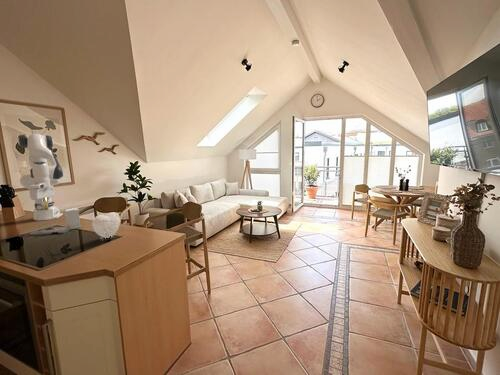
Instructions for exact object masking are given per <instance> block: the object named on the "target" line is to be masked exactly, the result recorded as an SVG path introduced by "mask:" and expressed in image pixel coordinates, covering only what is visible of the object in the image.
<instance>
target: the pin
mask: <svg viewBox="0 0 500 375" xmlns="http://www.w3.org/2000/svg"><path fill="white" fill-rule="evenodd" d="M43 202H44V205H42V210H48V202H47V197H46V198H43Z"/></svg>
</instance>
